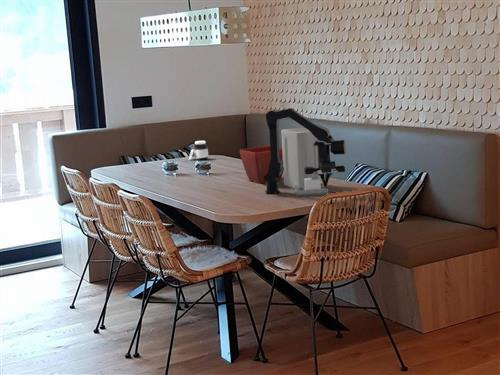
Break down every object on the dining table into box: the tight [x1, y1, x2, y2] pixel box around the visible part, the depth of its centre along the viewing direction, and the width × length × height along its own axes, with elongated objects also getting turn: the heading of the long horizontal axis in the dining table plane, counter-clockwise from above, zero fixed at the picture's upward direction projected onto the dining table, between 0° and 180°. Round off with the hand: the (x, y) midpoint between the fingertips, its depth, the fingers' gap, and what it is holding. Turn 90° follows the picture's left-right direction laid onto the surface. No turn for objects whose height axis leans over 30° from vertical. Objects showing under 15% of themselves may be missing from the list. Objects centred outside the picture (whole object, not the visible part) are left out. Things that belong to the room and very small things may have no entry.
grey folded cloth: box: [294, 185, 329, 197], centre depth 366 cm, size 10×15×4 cm, turn 92°
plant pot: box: [239, 145, 283, 184], centre depth 405 cm, size 19×19×17 cm
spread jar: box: [188, 140, 209, 161], centre depth 493 cm, size 12×11×12 cm
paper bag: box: [280, 128, 320, 189], centre depth 384 cm, size 19×15×28 cm
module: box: [304, 177, 322, 190], centre depth 365 cm, size 5×7×7 cm
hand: (325, 187), depth 366 cm, fingers closed
